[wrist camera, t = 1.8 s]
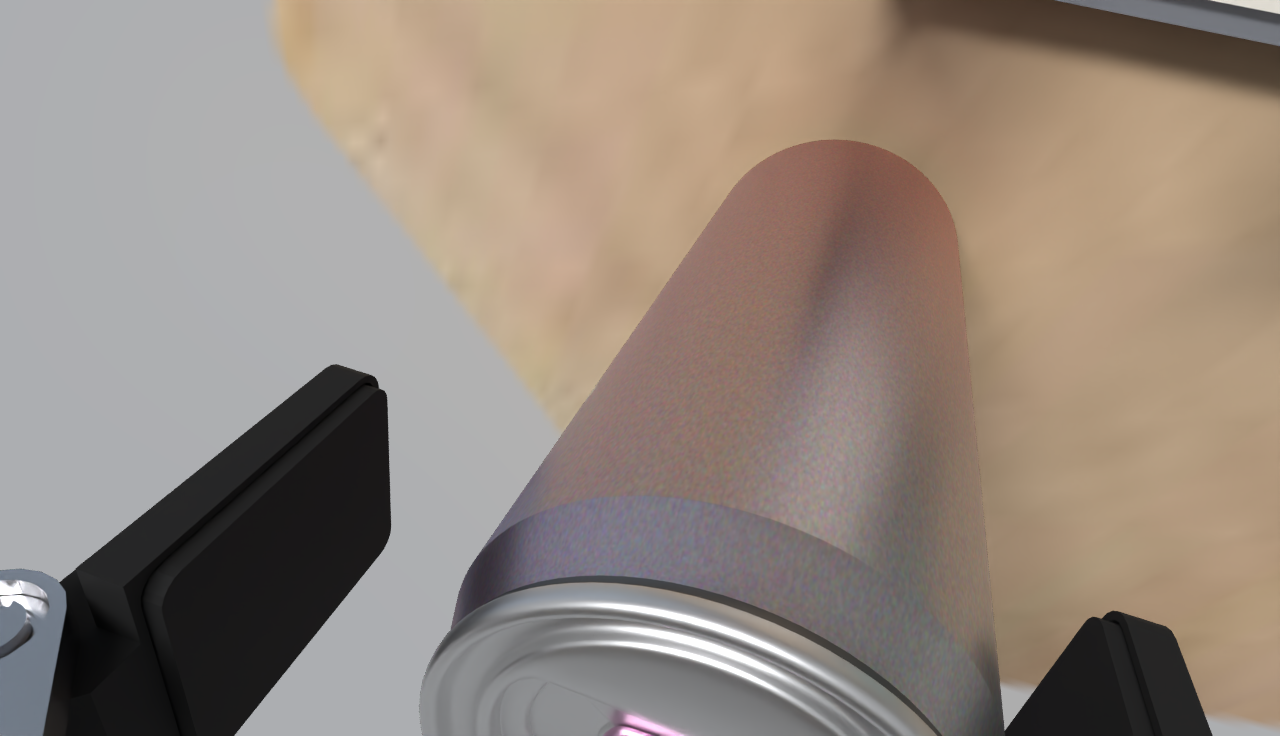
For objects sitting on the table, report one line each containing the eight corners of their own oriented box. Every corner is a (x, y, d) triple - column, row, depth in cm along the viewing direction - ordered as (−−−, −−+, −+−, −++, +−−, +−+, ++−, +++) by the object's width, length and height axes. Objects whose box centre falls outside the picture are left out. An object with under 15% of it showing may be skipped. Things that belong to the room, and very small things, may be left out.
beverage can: (917, 376, 21) (906, 1063, 8) (703, 326, 22) (417, 858, 10) (991, 156, 17) (1150, 744, 5) (735, 113, 19) (370, 502, 6)
